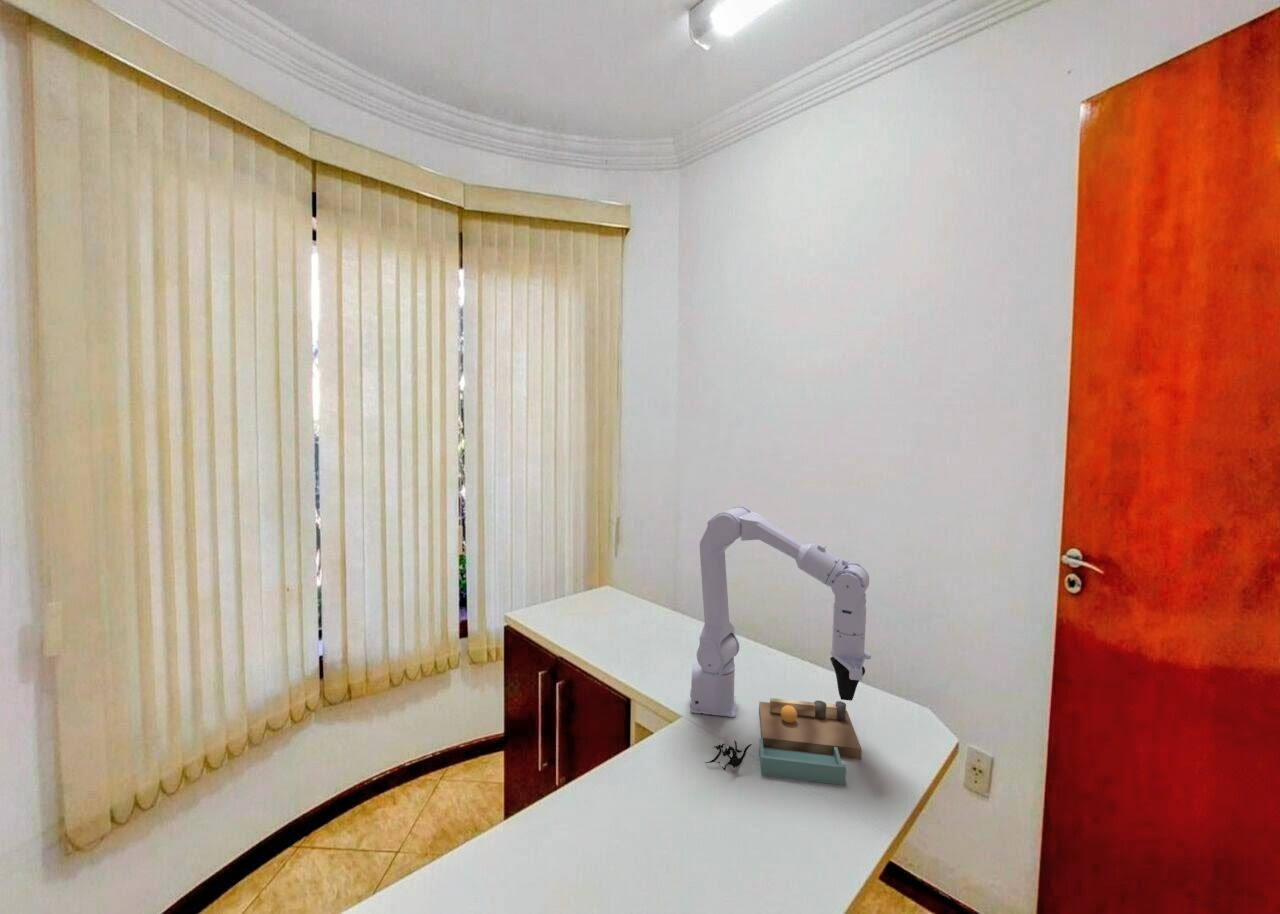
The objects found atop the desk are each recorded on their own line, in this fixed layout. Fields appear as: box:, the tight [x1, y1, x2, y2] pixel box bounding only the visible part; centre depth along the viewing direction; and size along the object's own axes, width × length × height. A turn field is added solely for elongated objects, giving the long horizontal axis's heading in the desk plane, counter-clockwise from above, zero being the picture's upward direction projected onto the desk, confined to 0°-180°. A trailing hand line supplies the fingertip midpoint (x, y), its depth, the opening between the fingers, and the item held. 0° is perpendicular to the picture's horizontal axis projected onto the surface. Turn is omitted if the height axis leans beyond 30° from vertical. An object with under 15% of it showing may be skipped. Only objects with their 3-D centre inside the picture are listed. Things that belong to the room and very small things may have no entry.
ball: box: [781, 705, 797, 723], centre depth 106 cm, size 3×3×3 cm
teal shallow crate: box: [758, 737, 847, 786], centre depth 96 cm, size 14×8×3 cm, turn 80°
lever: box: [769, 697, 847, 721], centre depth 109 cm, size 15×2×3 cm, turn 80°
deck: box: [758, 701, 863, 760], centre depth 106 cm, size 18×13×2 cm
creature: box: [704, 734, 753, 771], centre depth 97 cm, size 8×5×8 cm
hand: (845, 698), depth 101 cm, fingers closed
